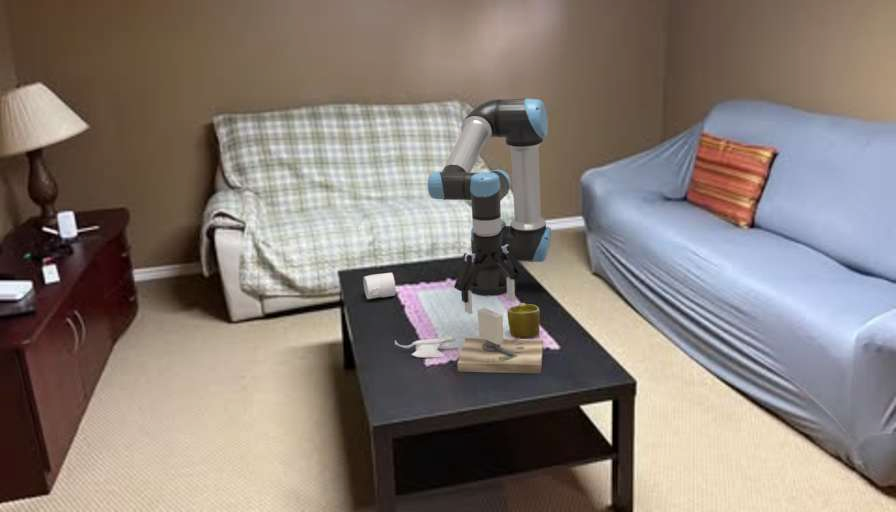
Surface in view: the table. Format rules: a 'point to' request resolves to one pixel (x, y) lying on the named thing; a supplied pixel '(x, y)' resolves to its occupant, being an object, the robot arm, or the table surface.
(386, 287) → the white cylinder
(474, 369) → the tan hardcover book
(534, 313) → the mug
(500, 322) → the white upright block
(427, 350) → the winged dragon toy
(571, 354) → the table surface
